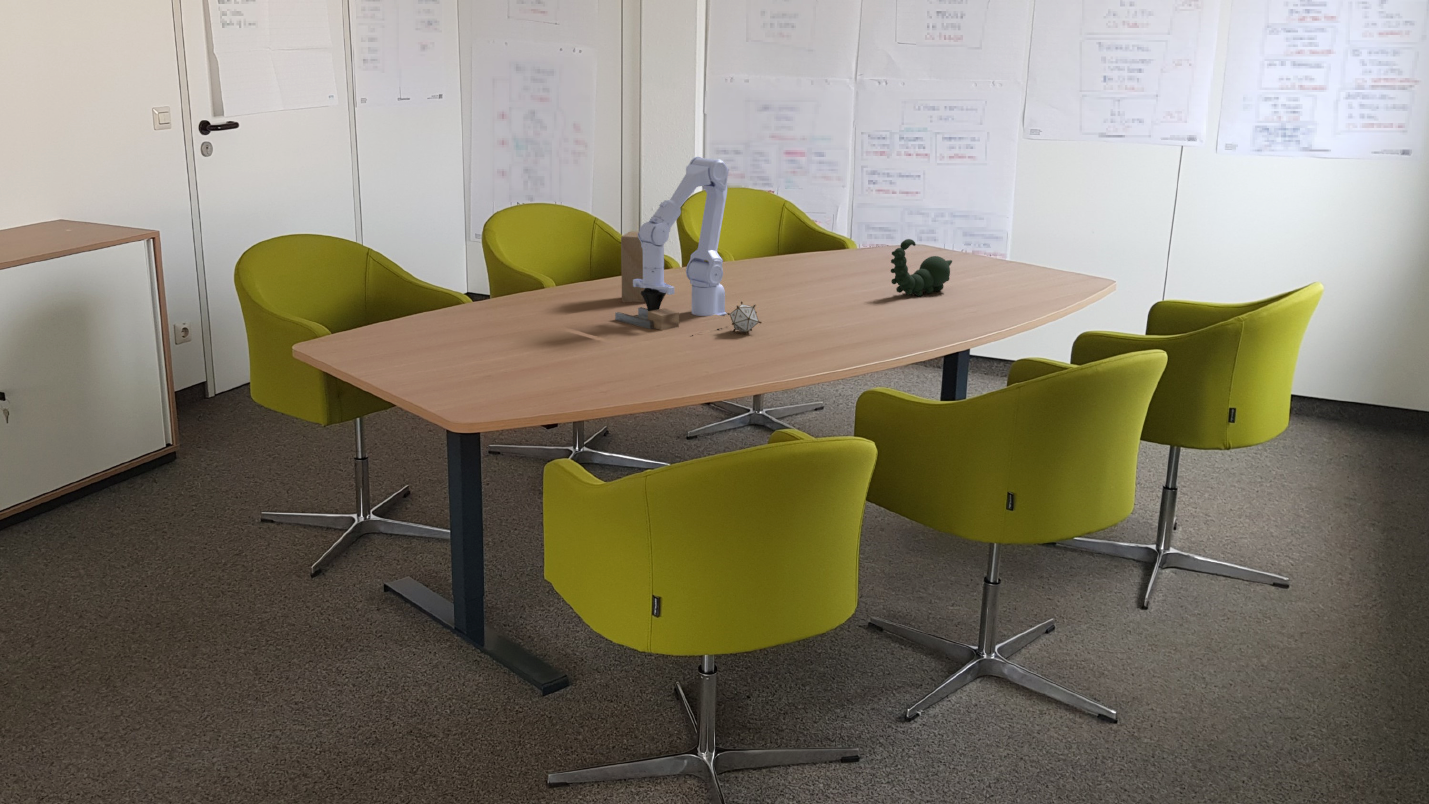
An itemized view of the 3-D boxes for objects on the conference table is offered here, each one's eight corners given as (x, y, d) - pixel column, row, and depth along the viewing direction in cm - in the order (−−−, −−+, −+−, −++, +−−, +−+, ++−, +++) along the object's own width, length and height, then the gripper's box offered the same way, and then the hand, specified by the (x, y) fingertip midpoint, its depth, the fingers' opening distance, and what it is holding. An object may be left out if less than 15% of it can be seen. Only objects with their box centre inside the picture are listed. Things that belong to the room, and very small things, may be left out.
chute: (641, 316, 340) (641, 307, 339) (701, 332, 324) (701, 322, 323) (615, 322, 333) (615, 312, 332) (675, 338, 317) (675, 328, 316)
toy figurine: (906, 306, 363) (963, 289, 377) (906, 245, 357) (963, 229, 370) (884, 300, 371) (940, 283, 384) (883, 240, 364) (941, 225, 378)
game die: (741, 347, 324) (726, 322, 317) (733, 329, 330) (718, 304, 323) (770, 331, 323) (755, 306, 316) (761, 314, 329) (747, 288, 322)
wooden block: (654, 305, 354) (653, 237, 348) (621, 303, 356) (620, 236, 350) (662, 298, 363) (662, 232, 357) (630, 296, 365) (629, 230, 359)
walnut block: (664, 322, 330) (664, 308, 329) (678, 326, 326) (679, 312, 325) (647, 325, 326) (647, 311, 325) (661, 330, 322) (661, 315, 321)
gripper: (624, 265, 327) (624, 313, 331) (660, 273, 317) (661, 323, 321) (643, 261, 331) (643, 309, 336) (680, 269, 322) (680, 318, 326)
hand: (653, 316), depth 329 cm, fingers closed
